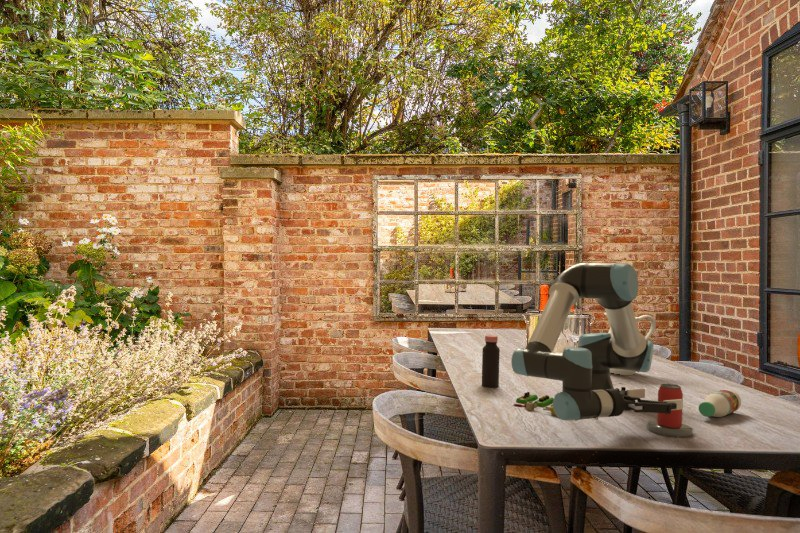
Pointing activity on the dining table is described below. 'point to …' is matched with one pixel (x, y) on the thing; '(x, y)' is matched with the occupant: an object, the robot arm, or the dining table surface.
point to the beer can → (676, 415)
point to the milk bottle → (720, 403)
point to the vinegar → (490, 362)
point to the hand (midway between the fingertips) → (662, 398)
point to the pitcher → (653, 325)
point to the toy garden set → (531, 405)
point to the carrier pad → (669, 430)
